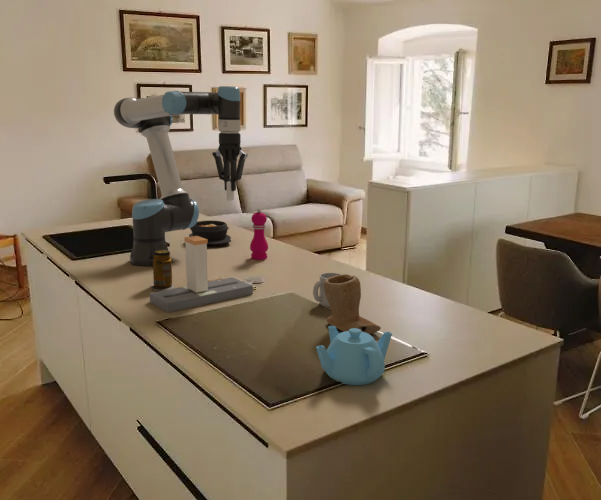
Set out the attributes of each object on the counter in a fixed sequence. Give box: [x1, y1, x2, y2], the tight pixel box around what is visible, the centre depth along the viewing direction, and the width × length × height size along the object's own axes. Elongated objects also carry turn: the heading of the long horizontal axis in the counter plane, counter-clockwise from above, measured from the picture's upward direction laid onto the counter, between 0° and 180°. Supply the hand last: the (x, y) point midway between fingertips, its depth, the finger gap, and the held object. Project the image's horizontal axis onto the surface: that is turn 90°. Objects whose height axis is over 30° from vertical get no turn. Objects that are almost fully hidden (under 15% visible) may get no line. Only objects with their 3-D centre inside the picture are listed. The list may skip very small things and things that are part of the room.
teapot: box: [315, 325, 393, 386], centre depth 135 cm, size 15×15×11 cm
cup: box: [312, 272, 343, 308], centre depth 182 cm, size 7×10×9 cm
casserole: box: [188, 220, 232, 246], centre depth 263 cm, size 25×19×8 cm
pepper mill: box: [249, 208, 269, 261], centre depth 235 cm, size 7×7×20 cm
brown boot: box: [324, 273, 382, 335], centre depth 161 cm, size 15×12×15 cm
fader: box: [184, 236, 209, 293], centre depth 184 cm, size 4×6×16 cm
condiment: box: [150, 249, 176, 292], centre depth 197 cm, size 7×8×12 cm
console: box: [149, 276, 254, 313], centre depth 187 cm, size 30×12×3 cm, turn 129°
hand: (230, 199), depth 211 cm, fingers closed
